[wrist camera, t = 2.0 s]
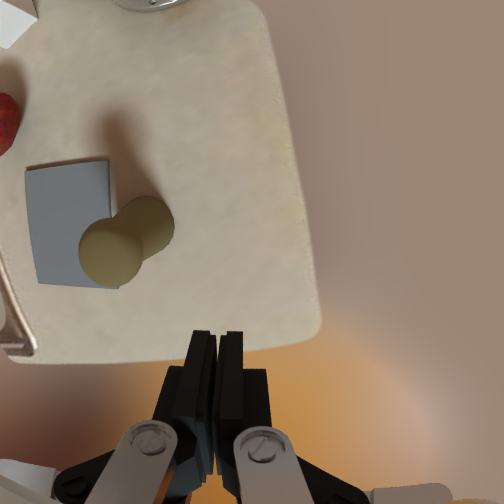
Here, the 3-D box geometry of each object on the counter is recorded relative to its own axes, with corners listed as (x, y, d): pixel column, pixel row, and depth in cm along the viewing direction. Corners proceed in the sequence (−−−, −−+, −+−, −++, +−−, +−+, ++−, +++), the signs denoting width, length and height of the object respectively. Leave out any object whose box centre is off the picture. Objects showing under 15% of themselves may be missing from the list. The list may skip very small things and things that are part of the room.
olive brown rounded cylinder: (110, 229, 29) (55, 263, 19) (141, 184, 28) (89, 199, 18) (152, 264, 31) (114, 314, 20) (186, 221, 29) (156, 255, 19)
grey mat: (26, 171, 27) (24, 171, 26) (109, 160, 27) (107, 160, 27) (40, 281, 31) (38, 283, 31) (119, 287, 31) (117, 289, 31)
